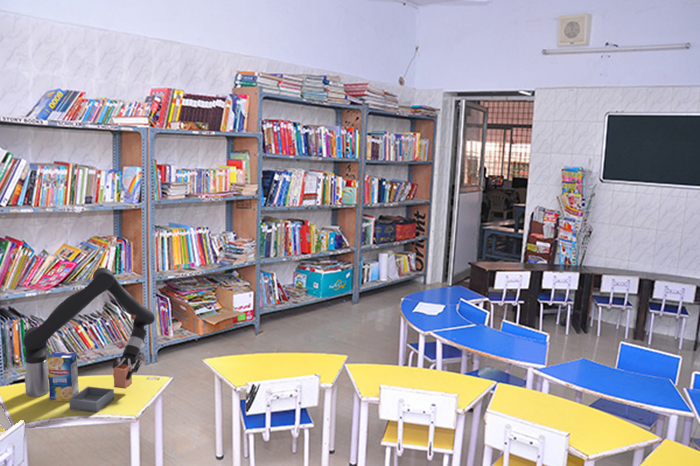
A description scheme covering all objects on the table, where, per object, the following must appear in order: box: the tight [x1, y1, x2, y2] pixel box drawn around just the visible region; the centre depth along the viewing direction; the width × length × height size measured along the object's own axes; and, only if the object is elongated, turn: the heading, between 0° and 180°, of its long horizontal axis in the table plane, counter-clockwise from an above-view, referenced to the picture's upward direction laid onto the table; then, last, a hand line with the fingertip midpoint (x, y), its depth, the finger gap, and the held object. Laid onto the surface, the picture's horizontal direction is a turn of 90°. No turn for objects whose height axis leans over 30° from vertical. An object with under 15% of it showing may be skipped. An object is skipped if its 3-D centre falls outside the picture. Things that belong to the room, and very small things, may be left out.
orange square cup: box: [113, 364, 133, 390], centre depth 282 cm, size 6×6×10 cm
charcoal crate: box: [68, 385, 115, 414], centre depth 271 cm, size 14×14×5 cm
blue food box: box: [47, 351, 80, 402], centre depth 275 cm, size 7×11×22 cm, turn 92°
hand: (121, 378), depth 280 cm, fingers closed on orange square cup, 6 cm apart
